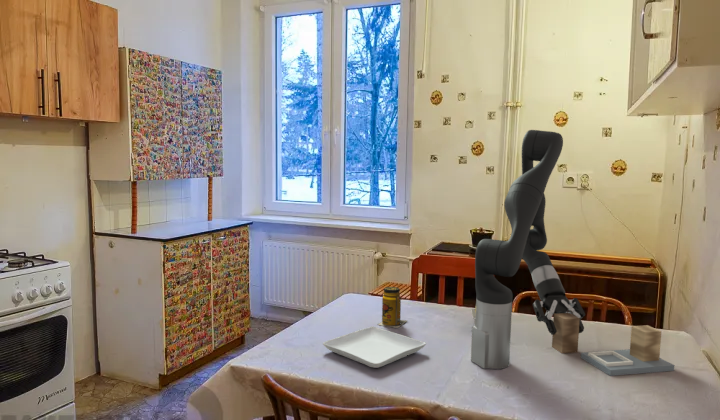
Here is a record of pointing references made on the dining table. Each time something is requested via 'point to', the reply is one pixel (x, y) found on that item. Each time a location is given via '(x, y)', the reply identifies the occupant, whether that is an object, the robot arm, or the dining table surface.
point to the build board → (624, 363)
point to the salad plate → (374, 346)
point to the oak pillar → (645, 343)
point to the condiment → (391, 308)
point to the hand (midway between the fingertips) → (567, 332)
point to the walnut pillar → (566, 333)
